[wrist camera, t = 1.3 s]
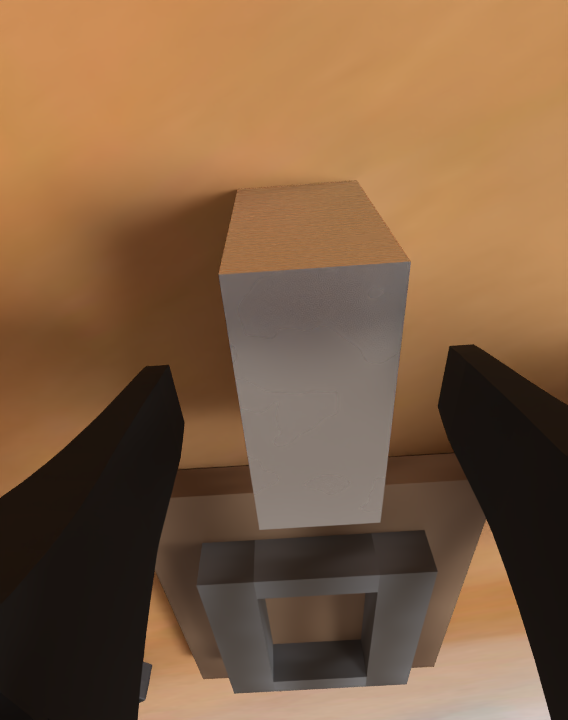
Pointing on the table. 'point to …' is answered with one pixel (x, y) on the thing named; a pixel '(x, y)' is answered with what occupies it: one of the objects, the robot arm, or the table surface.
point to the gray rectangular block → (314, 348)
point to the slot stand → (318, 579)
